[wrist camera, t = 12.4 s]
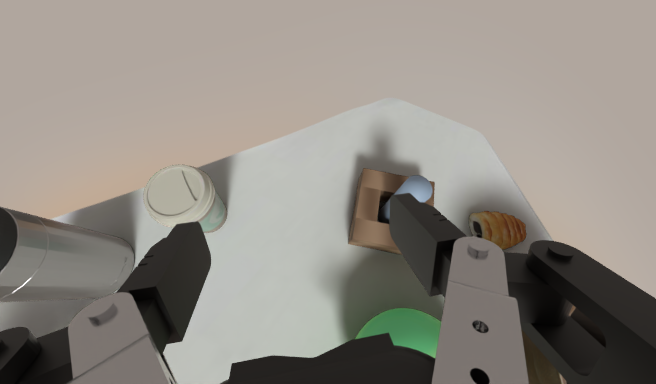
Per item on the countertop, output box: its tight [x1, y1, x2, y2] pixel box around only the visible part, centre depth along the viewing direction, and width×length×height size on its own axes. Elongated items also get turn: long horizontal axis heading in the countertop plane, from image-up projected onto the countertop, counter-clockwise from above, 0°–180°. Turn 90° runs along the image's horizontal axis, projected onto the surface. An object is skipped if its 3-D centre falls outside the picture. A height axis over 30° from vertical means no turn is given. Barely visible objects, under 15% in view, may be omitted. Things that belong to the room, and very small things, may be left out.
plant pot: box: [521, 305, 606, 384], centre depth 32 cm, size 16×16×16 cm
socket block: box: [348, 168, 435, 255], centre depth 43 cm, size 12×12×5 cm
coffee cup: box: [143, 165, 227, 233], centre depth 38 cm, size 8×9×12 cm
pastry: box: [469, 211, 526, 250], centre depth 44 cm, size 9×7×4 cm
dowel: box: [378, 175, 432, 224], centre depth 39 cm, size 4×4×14 cm
